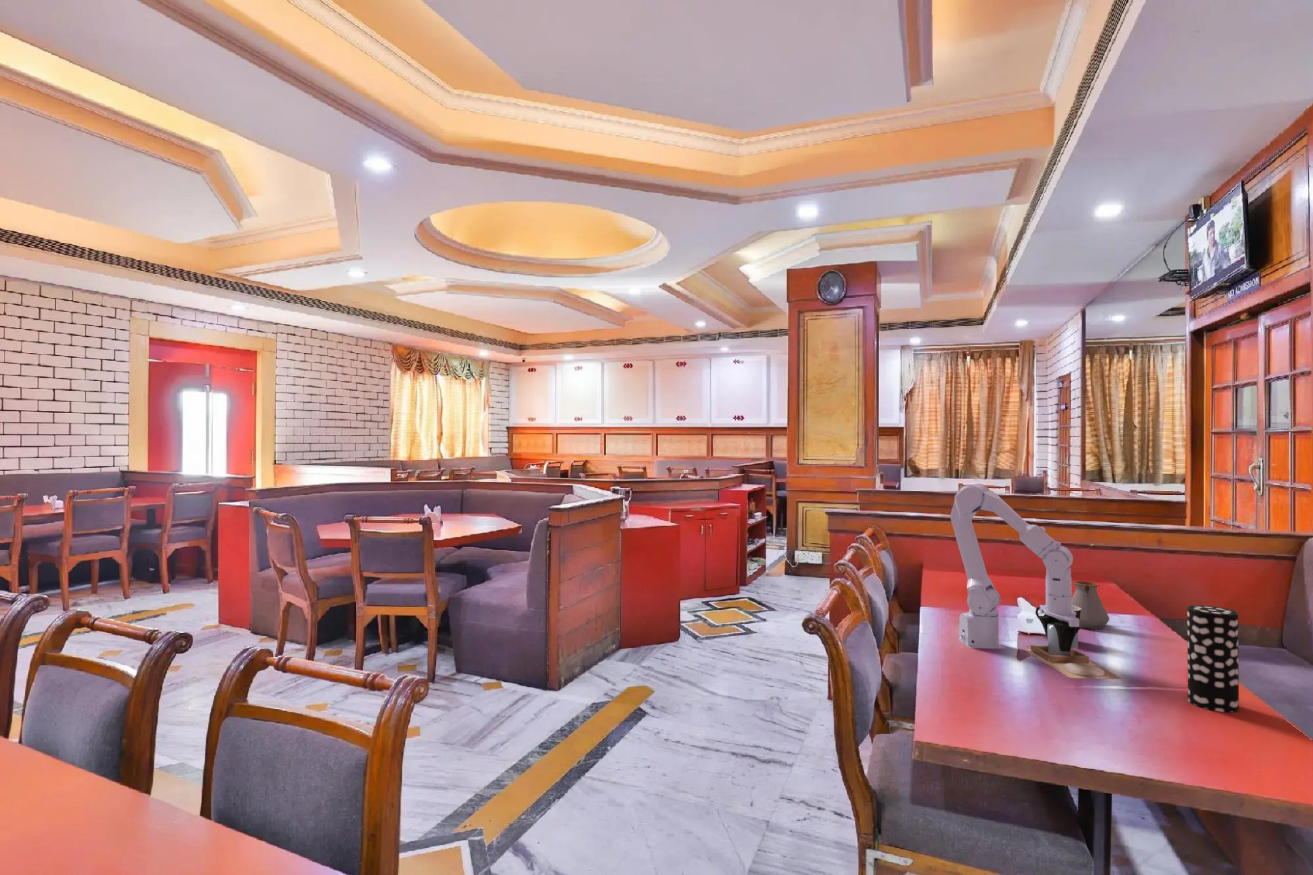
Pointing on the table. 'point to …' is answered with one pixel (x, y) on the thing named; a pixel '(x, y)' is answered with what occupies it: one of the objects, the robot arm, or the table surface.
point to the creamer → (1054, 643)
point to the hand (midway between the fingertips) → (1058, 647)
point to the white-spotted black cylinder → (1213, 658)
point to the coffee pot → (1089, 605)
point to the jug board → (1071, 663)
